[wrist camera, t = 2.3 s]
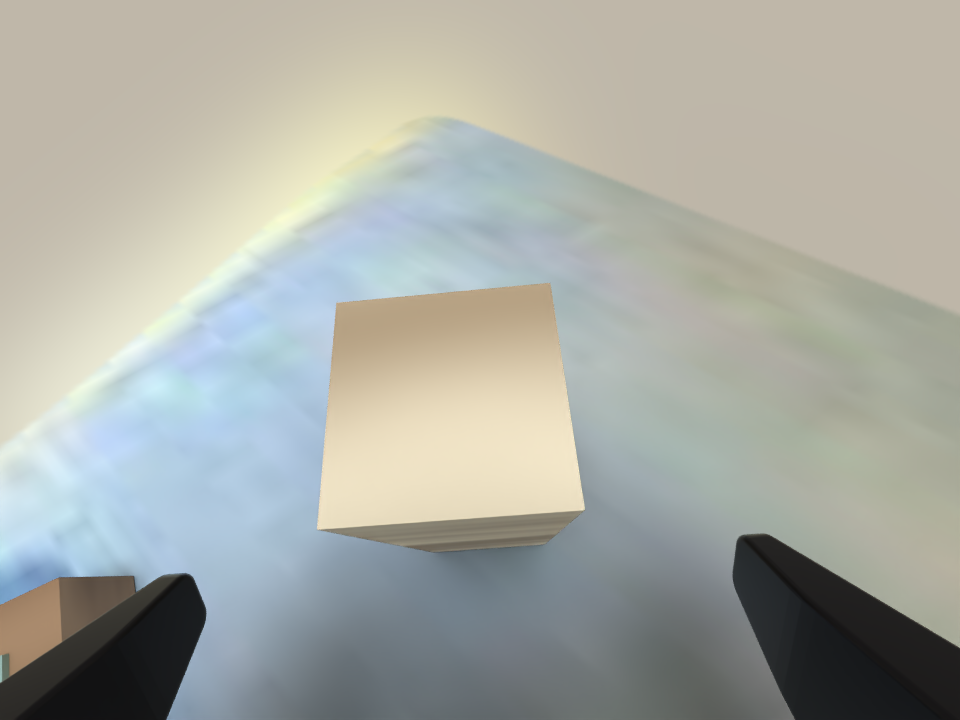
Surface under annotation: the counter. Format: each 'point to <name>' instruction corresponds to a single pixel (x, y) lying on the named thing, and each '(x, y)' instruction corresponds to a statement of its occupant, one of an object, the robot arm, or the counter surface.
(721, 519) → the counter surface
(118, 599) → the walnut plinth
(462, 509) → the birch post
